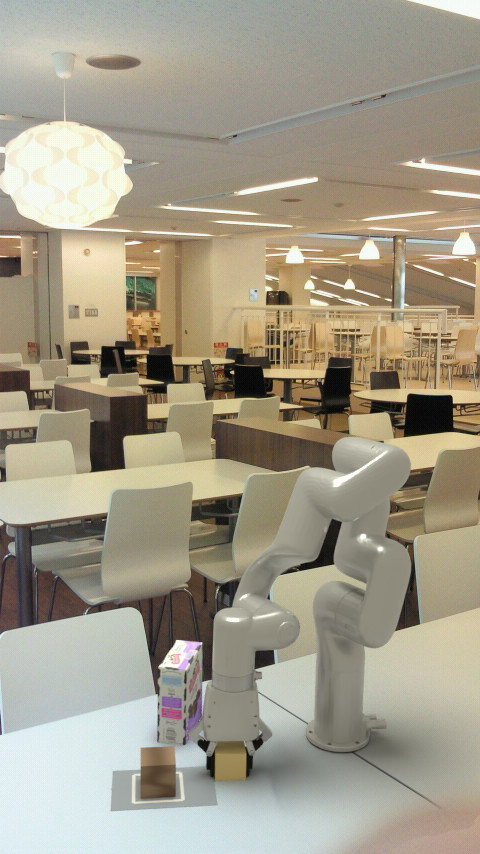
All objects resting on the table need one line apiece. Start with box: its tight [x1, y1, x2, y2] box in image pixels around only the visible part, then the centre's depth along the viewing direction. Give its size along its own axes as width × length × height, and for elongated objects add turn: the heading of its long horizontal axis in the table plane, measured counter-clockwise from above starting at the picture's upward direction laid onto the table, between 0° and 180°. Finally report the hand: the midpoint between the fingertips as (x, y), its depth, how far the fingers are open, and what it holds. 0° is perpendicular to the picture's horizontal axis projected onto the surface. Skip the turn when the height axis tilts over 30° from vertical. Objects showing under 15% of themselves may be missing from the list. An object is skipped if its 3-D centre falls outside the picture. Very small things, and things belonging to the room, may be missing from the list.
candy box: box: [156, 639, 203, 746], centre depth 168 cm, size 14×6×16 cm, turn 168°
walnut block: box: [140, 745, 177, 799], centre depth 147 cm, size 6×6×6 cm
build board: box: [110, 765, 219, 812], centre depth 148 cm, size 18×12×1 cm, turn 97°
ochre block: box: [214, 741, 247, 782], centre depth 153 cm, size 6×6×6 cm
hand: (229, 771), depth 153 cm, fingers closed on ochre block, 5 cm apart
